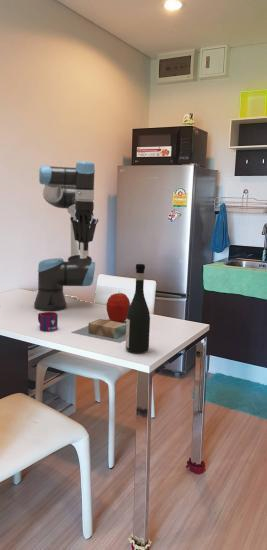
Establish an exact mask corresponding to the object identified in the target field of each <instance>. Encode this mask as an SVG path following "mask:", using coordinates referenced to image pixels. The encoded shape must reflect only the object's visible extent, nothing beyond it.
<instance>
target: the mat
mask: <svg viewBox="0 0 267 550" xmlns="http://www.w3.org/2000/svg"><path fill="white" fill-rule="evenodd" d="M88 326H89V325H87V326H84V327H81V328H79V329H77V330H73V331H71V334H75V335H76V334H77V335H80V336H85V337H90V338H94V339H99V340H105V341H109V342H114V343H118V344H121V343H123V342H126V334H125V335H122V336H120V337H118V338H116V339H113V338H108V337H104V336H99V335H94V334H89V333H88Z"/></svg>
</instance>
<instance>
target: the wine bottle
mask: <svg viewBox="0 0 267 550" xmlns="http://www.w3.org/2000/svg"><path fill="white" fill-rule="evenodd" d="M145 269H146V265H145V264H144V263H137V264H135V292H134V294H133V298H132V299H131V301H130V307H129V309H128V313H127V319H126V320H125V322H126V323H125V324H126V340H125V349H126V351H128V352H130V353H132V354H143V353H146V352H147V351H148V350H149V348H150V331H151V330H150V328H151V327H150V326H151V315H150V310H149V307H148V304H147V300H146V297H145V294H144V292H145V291H144V282H145V280H144V279H145Z"/></svg>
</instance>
